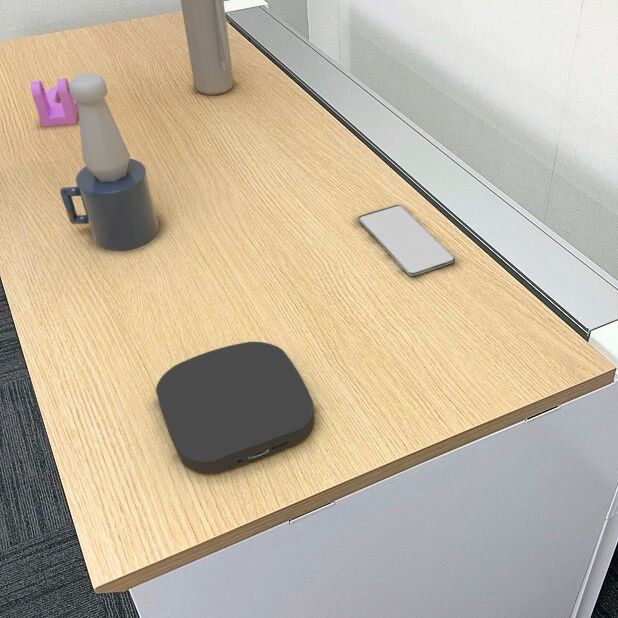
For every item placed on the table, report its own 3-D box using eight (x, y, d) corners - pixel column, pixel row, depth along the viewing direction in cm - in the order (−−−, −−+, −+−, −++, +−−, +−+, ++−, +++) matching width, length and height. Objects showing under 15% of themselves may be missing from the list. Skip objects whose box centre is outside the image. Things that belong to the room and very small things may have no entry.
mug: (162, 212, 106) (150, 155, 100) (154, 249, 100) (140, 191, 93) (80, 215, 106) (62, 159, 99) (67, 253, 99) (47, 195, 93)
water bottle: (185, 88, 136) (159, -63, 118) (220, 75, 139) (200, -72, 122) (214, 104, 131) (191, -50, 113) (249, 91, 134) (233, -61, 117)
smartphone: (399, 203, 106) (456, 259, 96) (399, 207, 106) (456, 262, 96) (356, 216, 103) (410, 274, 94) (356, 219, 104) (410, 278, 94)
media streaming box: (152, 388, 81) (146, 369, 79) (276, 348, 85) (273, 329, 83) (189, 487, 71) (183, 468, 69) (326, 436, 76) (325, 417, 74)
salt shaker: (128, 185, 94) (103, 87, 85) (83, 186, 94) (54, 88, 85) (137, 162, 99) (114, 66, 90) (94, 163, 99) (67, 67, 90)
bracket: (76, 123, 126) (64, 84, 121) (42, 126, 125) (29, 87, 121) (80, 90, 135) (70, 53, 130) (49, 93, 135) (37, 55, 130)
